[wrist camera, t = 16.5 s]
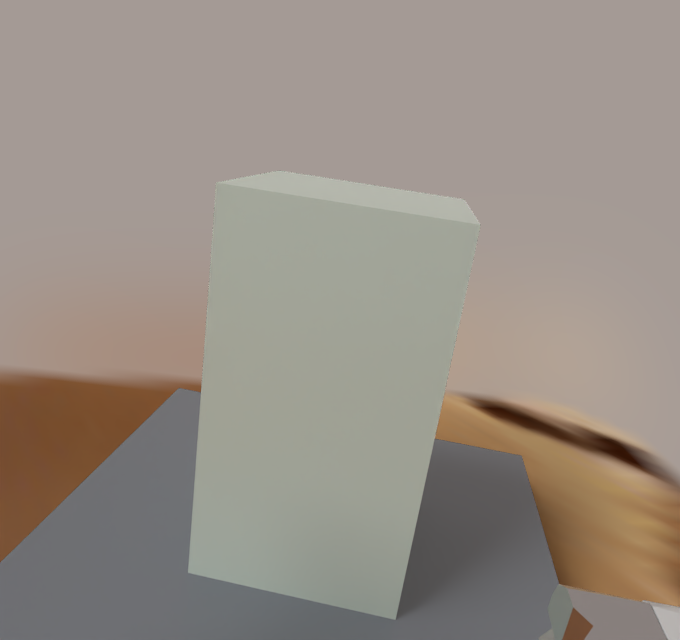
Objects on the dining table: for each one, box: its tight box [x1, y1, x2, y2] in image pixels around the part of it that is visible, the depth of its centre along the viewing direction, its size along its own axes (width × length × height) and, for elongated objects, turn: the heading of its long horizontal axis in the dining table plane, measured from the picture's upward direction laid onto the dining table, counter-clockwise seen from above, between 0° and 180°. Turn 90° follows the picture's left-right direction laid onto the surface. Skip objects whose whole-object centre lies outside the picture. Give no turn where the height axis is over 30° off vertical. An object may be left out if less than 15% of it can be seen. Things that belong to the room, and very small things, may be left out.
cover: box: [188, 171, 481, 620], centre depth 17 cm, size 6×6×11 cm
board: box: [0, 388, 559, 640], centre depth 19 cm, size 16×16×6 cm
